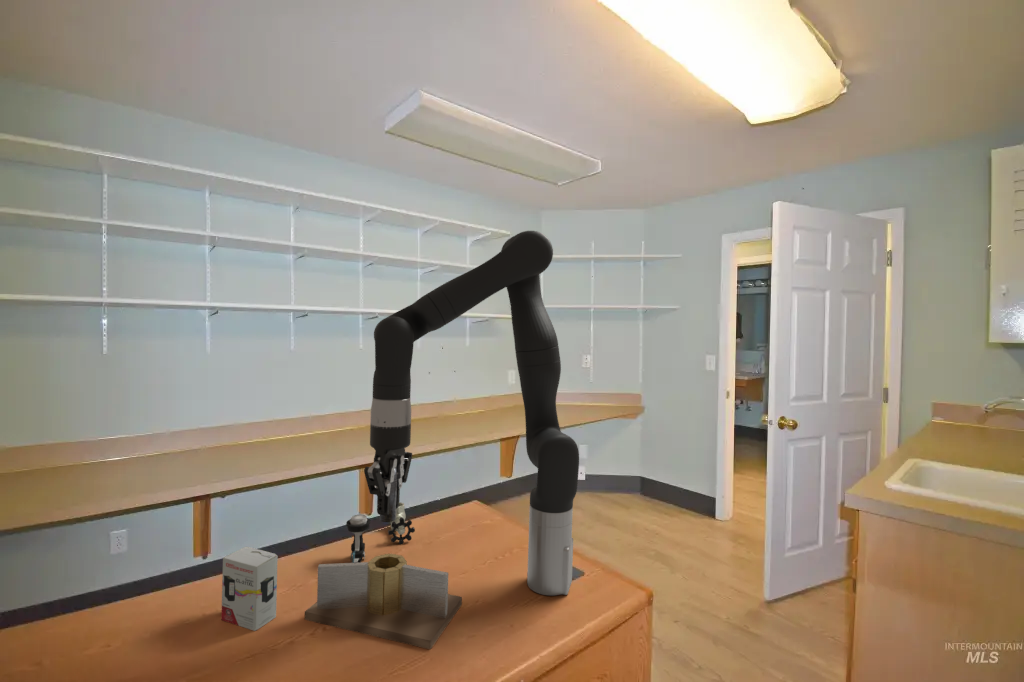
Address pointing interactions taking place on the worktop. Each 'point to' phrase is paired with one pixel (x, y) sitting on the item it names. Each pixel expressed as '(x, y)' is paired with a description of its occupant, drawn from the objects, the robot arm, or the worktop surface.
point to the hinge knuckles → (383, 586)
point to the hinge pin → (391, 500)
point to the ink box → (249, 588)
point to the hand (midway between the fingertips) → (388, 510)
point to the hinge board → (388, 622)
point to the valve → (400, 526)
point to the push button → (358, 536)
